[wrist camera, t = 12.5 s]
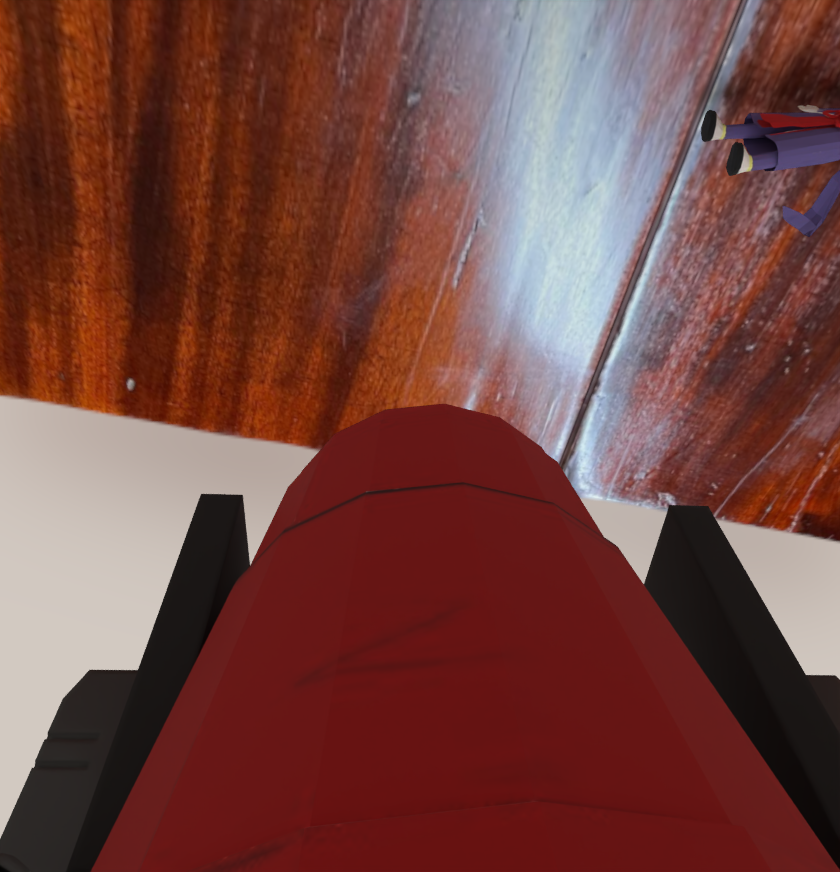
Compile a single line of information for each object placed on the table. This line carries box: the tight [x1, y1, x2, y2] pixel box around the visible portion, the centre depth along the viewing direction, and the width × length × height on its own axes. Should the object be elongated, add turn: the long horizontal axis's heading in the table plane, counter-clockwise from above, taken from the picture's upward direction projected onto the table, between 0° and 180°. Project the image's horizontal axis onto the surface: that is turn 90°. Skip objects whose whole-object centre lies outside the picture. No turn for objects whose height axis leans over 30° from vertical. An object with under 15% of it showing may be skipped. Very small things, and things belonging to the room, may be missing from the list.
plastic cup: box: [91, 404, 840, 872], centre depth 10 cm, size 11×11×12 cm
